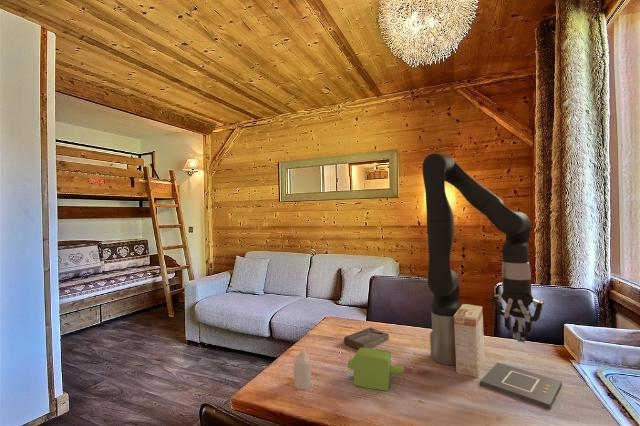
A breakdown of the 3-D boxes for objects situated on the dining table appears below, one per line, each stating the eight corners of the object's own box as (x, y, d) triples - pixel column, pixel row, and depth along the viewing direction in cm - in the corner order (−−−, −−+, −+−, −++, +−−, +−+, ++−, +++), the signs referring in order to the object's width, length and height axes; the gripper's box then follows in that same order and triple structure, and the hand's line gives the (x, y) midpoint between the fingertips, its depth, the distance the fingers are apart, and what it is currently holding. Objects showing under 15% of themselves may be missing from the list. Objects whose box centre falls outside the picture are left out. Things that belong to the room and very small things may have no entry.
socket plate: (480, 384, 99) (480, 380, 99) (497, 365, 110) (497, 362, 110) (550, 409, 86) (550, 404, 86) (562, 385, 97) (561, 381, 97)
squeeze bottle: (292, 345, 105) (308, 343, 106) (293, 381, 105) (310, 378, 106) (293, 352, 99) (311, 350, 100) (295, 390, 99) (312, 388, 100)
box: (343, 344, 132) (343, 336, 132) (370, 333, 144) (370, 326, 144) (362, 352, 124) (362, 344, 124) (389, 340, 136) (389, 333, 135)
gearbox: (405, 379, 104) (405, 350, 105) (402, 394, 95) (402, 362, 96) (352, 370, 111) (352, 343, 111) (345, 384, 101) (345, 354, 102)
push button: (533, 345, 94) (533, 311, 94) (513, 343, 95) (513, 310, 95) (525, 336, 100) (524, 305, 100) (506, 335, 101) (506, 304, 101)
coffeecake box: (464, 355, 119) (462, 303, 119) (485, 359, 115) (483, 306, 114) (455, 372, 106) (452, 314, 106) (478, 378, 102) (476, 318, 102)
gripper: (487, 275, 100) (489, 329, 100) (540, 281, 90) (543, 341, 90) (495, 271, 105) (497, 322, 105) (546, 276, 95) (549, 333, 95)
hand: (518, 331), depth 98 cm, fingers closed on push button, 4 cm apart
